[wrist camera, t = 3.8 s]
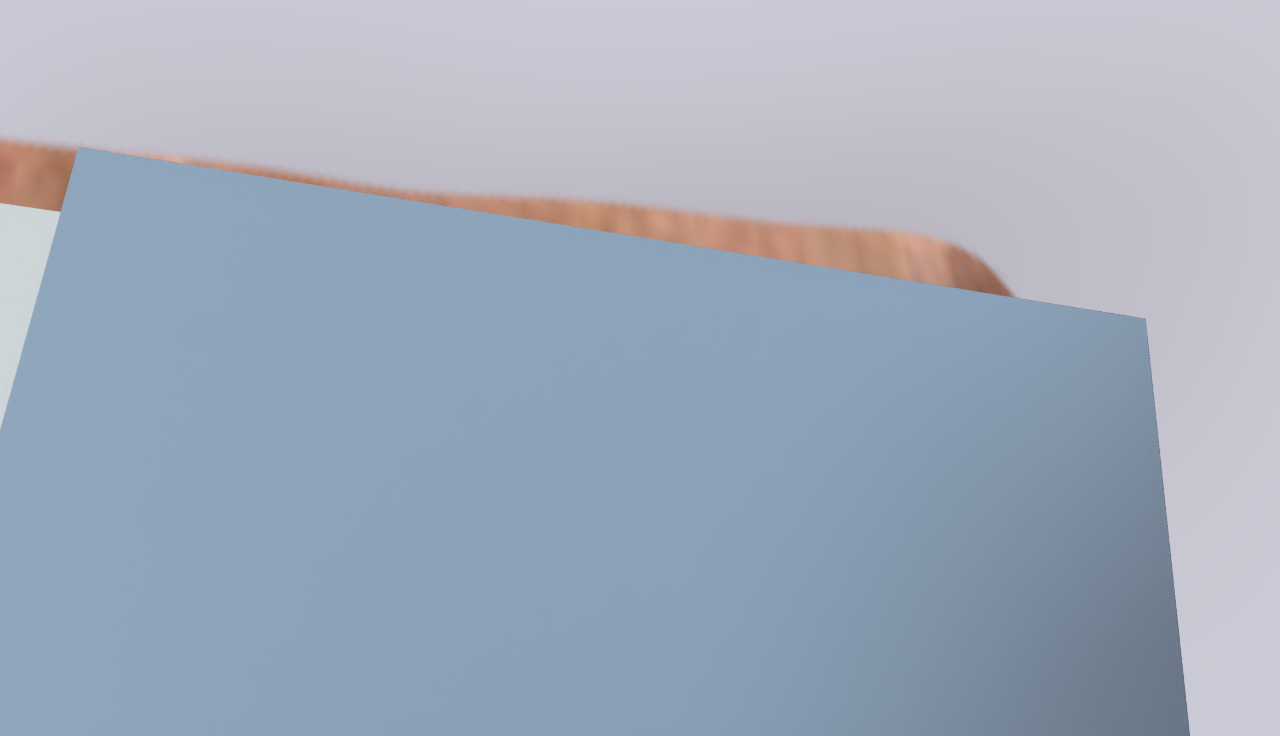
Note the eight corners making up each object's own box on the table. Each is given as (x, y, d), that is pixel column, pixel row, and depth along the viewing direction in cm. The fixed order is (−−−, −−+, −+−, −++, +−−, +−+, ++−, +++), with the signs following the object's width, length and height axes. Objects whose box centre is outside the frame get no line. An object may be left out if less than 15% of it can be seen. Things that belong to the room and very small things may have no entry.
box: (596, 873, 15) (1287, 1654, 3) (273, 866, 14) (-422, 1940, 2) (618, 561, 17) (1144, 318, 5) (327, 535, 16) (77, 146, 4)
